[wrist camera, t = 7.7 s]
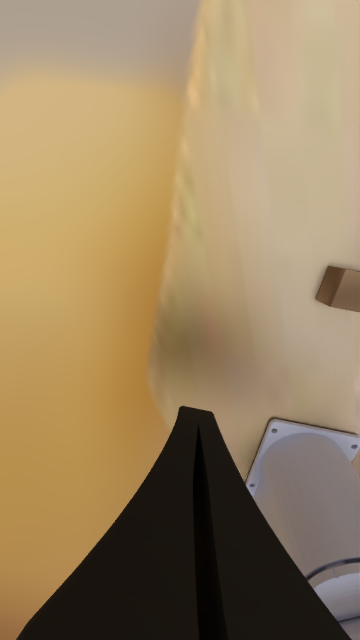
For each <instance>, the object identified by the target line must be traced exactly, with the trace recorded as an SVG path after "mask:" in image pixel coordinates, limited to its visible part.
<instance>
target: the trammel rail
mask: <svg viewBox="0 0 360 640" xmlns="http://www.w3.org/2000/svg"><path fill="white" fill-rule="evenodd" d="M316 300H318V301H320V302H322V303H324V304H326V305H328V306H330V307H335V308H340V309H345V310H351V311H356V312H360V272H359V271H353V270H348V269H342V268H337V267H332V266H328V269H327V271H326V274H325V276H324V279H323V281H322V284H321V287H320V289H319V292H318V294H317V297H316Z"/></svg>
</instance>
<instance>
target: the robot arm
mask: <svg viewBox="0 0 360 640" xmlns="http://www.w3.org/2000/svg"><path fill="white" fill-rule="evenodd" d="M272 429H274V430H272ZM359 448H360V437H359V436H358V435H354V434H349V433H344V432H339V431H334V430H329V429H324V428H319V427H314V426H309V425H304V424H299V423H294V422H289V421H284V420H279V419H273V420H271V421H270V422H269V425H268V427H267V430H266V433H265V435H264V438H263V440H262V443H261V445H260V448H259V450H258V453H257V456H256V458H255V461H254V463H253V466H252V468H251V471H250V473H249V476H248V479H247V481H246V484H245V482H244V481H243V479H242V477H241V475H240V473H239V471H238V469H237V467H236V465H235V463H234V461H233V459H232V457H231V455H230V453H229V451H228V448H227V446H226V444H225V442H224V439H223V437H222V435H221V432H220V430H219V427H218V425H217V422H216V419H215V417H214V414H213V413H212V412H211V411H206V410H201V409H196V408H191V407H186V406H181V407H179V411H178V416H177V420H176V422H175V425H174V427H173V430H172V432H171V434H170V436H169V438H168V440H167V442H166V444H165V446H164V448H163V450H162V452H161V454H160V455H159V457H158V459H157V460H156V462H155V464H154V466H153V467H152V469H151V471H150V472H149V474H148V475H147V477H146V479H145V480H144V482H143V483H142V484H141V486H140V487H139V489H138V490H137V492H136V493H135V495H134V496H133V498H132V499H131V500H130V502H129V503H128V504H127V506H126V507H125V508H124V510H123V511H122V513H121V514H120V515H119V517H118V518H117V519H116V520H115V522H114V523H113V524H112V526H111V527H110V528H109V529H108V531H107V532H106V533H105V535H104V536H103V537H102V538H101V539H100V541H99V542H98V543H97V544H96V545H95V547H94V548H93V549H92V550H91V551H90V553H89V554H88V555H87V556H86V557H85V559H84V560H83V561H82V562H81V564H80V565H79V566H78V567H77V568H76V569H75V570H74V572H73V573H72V574H71V575H70V576H69V577H68V578H67V579H66V580H65V582H64V583H63V584H62V585H61V586H60V587H59V588H58V589H57V590H56V592H55V593H54V594H53V595H52V596H51V597H50V598H49V599H48V600H47V601H46V603H45V604H44V605H43V606H42V607H41V608H40V609H39V611H37V613H36V614H35V615H34V616H33V617H32V618H31V619H30V621H29V622H28V623H27V624H26V626H25V627H24V629H23V630H22V632H21V633H20V635H19V636H18V638H17V639H16V640H360V475H359V474H358V472H357V471H356V469H355V468H354V467H353V465H352V464H351V462H352V460H353V458H354V456H355V455H356V453H357V451H358V450H359ZM252 496H254V498H255V500H254V499H253V497H252Z"/></svg>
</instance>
